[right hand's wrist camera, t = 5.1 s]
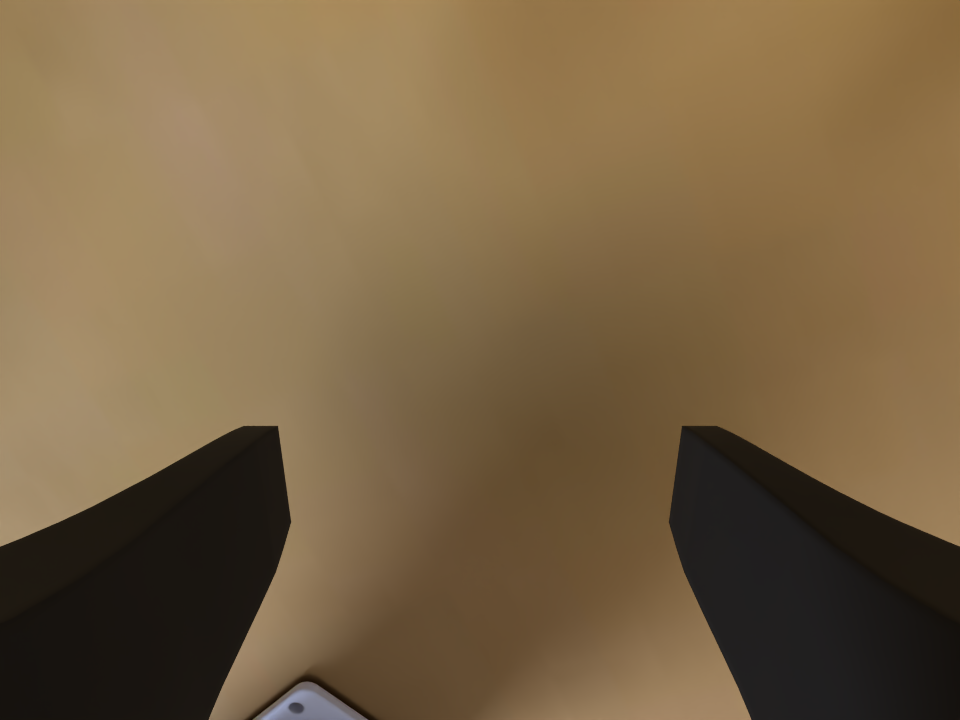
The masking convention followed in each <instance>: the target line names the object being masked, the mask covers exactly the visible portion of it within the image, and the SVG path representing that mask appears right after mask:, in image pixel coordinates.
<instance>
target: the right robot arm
mask: <svg viewBox="0 0 960 720" xmlns="http://www.w3.org/2000/svg"><path fill="white" fill-rule="evenodd" d="M290 524H291V518H290V511H289V504H288V496H287V489H286V482H285V474H284V467H283V460H282V453H281V445H280V438H279V431H278V426H243V427H240V428H238V429H235V430H233V431H231V432H229V433H227V434H225V435H223V436H221V437H220V438H218V439H216V440H214V441H212V442H210V443H209V444H207V445H205V446H203V447H202V448H200V449H198V450H196V451H195V452H193V453H191V454H189V455H187V456H186V457H184V458H182V459H180V460H179V461H177V462H175V463H173V464H172V465H170V466H168V467H166V468H164V469H163V470H161V471H159V472H157V473H156V474H154V475H152V476H150V477H148V478H146V479H145V480H143V481H141V482H139V483H137V484H135V485H133V486H131V487H129V488H127V489H125V490H123V491H122V492H120V493H118V494H116V495H114V496H112V497H110V498H108V499H106V500H104V501H102V502H100V503H99V504H97V505H95V506H93V507H91V508H89V509H86V510H84V511H82V512H80V513H78V514H76V515H74V516H72V517H69V518H67V519H65V520H63V521H61V522H59V523H56V524H54V525H51V526H49V527H47V528H44V529H42V530H40V531H37V532H35V533H33V534H30V535H28V536H26V537H23V538H21V539H19V540H16V541H14V542H11V543H9V544H6V545H4V546H1V547H0V720H209V717H210V714H211V712H212V710H213V707H214V705H215V703H216V700H217V698H218V695H219V693H220V691H221V688H222V686H223V684H224V682H225V680H226V678H227V675H228V673H229V671H230V669H231V667H232V665H233V663H234V661H235V658H236V656H237V654H238V652H239V650H240V648H241V646H242V644H243V642H244V639H245V637H246V635H247V633H248V631H249V629H250V627H251V625H252V622H253V620H254V618H255V616H256V614H257V612H258V610H259V608H260V605H261V603H262V601H263V599H264V597H265V595H266V592H267V590H268V588H269V586H270V584H271V581H272V579H273V577H274V575H275V573H276V570H277V567H278V564H279V561H280V558H281V554H282V551H283V548H284V545H285V541H286V538H287V534H288V531H289V527H290ZM669 524H670V527H671V531H672V534H673V538H674V541H675V545H676V548H677V551H678V554H679V558H680V561H681V564H682V567H683V570H684V573H685V575H686V577H687V579H688V581H689V584H690V586H691V588H692V590H693V592H694V595H695V597H696V599H697V601H698V603H699V605H700V608H701V610H702V612H703V614H704V616H705V618H706V620H707V622H708V625H709V627H710V629H711V631H712V633H713V635H714V637H715V639H716V642H717V644H718V646H719V648H720V650H721V652H722V654H723V656H724V658H725V661H726V663H727V665H728V667H729V669H730V671H731V673H732V675H733V678H734V680H735V682H736V684H737V686H738V688H739V691H740V693H741V695H742V698H743V700H744V703H745V705H746V707H747V710H748V712H749V714H750V717H751V720H960V546H957V545H954V544H952V543H949V542H947V541H945V540H942V539H940V538H938V537H935V536H933V535H930V534H928V533H926V532H923V531H921V530H919V529H916V528H914V527H912V526H909V525H907V524H904V523H902V522H900V521H898V520H896V519H893V518H891V517H889V516H887V515H885V514H882V513H880V512H878V511H876V510H874V509H872V508H870V507H868V506H866V505H864V504H862V503H860V502H858V501H856V500H854V499H852V498H850V497H848V496H846V495H844V494H842V493H840V492H838V491H836V490H834V489H833V488H831V487H829V486H827V485H825V484H823V483H821V482H819V481H818V480H816V479H814V478H812V477H810V476H808V475H807V474H805V473H803V472H801V471H799V470H798V469H796V468H794V467H792V466H790V465H789V464H787V463H785V462H783V461H782V460H780V459H778V458H776V457H775V456H773V455H771V454H769V453H768V452H766V451H764V450H762V449H761V448H759V447H757V446H755V445H754V444H752V443H750V442H748V441H746V440H744V439H743V438H741V437H739V436H737V435H735V434H733V433H731V432H729V431H727V430H725V429H722V428H720V427H718V426H682V431H681V438H680V445H679V453H678V460H677V467H676V474H675V482H674V489H673V496H672V504H671V511H670V518H669ZM253 720H368V719H366V718H365V717H363V716H362V715H360V714H359V713H358V712H356V711H355V710H353V709H352V708H350V707H349V706H347V705H346V704H344V703H343V702H342V701H340V700H339V699H337V698H336V697H334V696H333V695H331V694H330V693H328V692H327V691H326V690H324V689H323V688H321V687H320V686H318V685H317V684H315V683H313V682H308V681H307V682H301V683H299V684H297V685H296V686H295V687H293V688H292V689H291V690H290V691H288V692H287V693H286V694H285V695H283V696H282V697H281V698H279V699H278V700H277V701H276V702H274V703H273V704H272V705H271V706H269V707H268V708H267V709H266V710H264V711H263V712H262V713H261V714H259V715H258V716H257V717H255V718H254V719H253Z"/></svg>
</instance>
